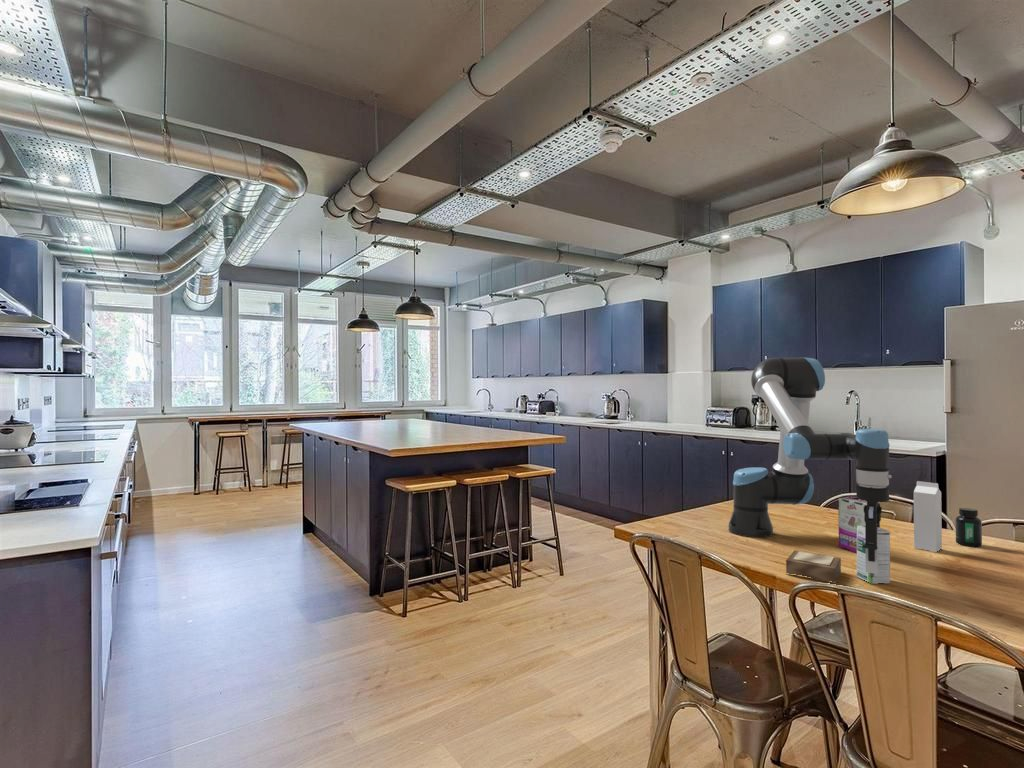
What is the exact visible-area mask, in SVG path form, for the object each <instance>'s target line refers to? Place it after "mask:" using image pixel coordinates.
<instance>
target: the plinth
mask: <svg viewBox="0 0 1024 768" xmlns="http://www.w3.org/2000/svg"><path fill="white" fill-rule="evenodd" d="M841 559H842V558H841V557H838V556H831V555H827V554H826V555H825V554H820V553H813V552H808V551H807V552H806V551H801V550H793V552H791V554H790V555H789V556H788V558H787V559H786V560H785V562H786V564H785V571H786V572H785V573H789V574H796V575H802V576H807V577H811V578H813V579H812V580H814V579H818V580H817V581H819V580H821V581H820V582H825V581H832V582H835V581H836V580H837V581H838V579H839V577H840V574H841V572H842V571H841V570H842V567H841V565H842V564H841V563H842V560H841ZM838 576H839V577H838ZM837 578H838V579H837ZM837 581H836V582H837Z"/></svg>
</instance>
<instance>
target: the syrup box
mask: <svg viewBox="0 0 1024 768" xmlns="http://www.w3.org/2000/svg"><path fill="white" fill-rule="evenodd" d="M871 544H873V543H871ZM863 545H865V525H861V526H857V553H856V578H857V577H858V578H857V579H860V580H862V581H864V580H865V582H866V581H867V583H868V582H869V583H868V584H870V583H871V585H879V584H878V583H884V584H890V583H891V575H890V574H891V531H890V530H889V529H885V528H882V527H880V528H879V527H877V547H878V574H874V573H868V572H866V548H863Z"/></svg>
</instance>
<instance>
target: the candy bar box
mask: <svg viewBox="0 0 1024 768" xmlns="http://www.w3.org/2000/svg"><path fill="white" fill-rule="evenodd" d="M865 505H867V501H865V500H860V499H856V498H851V497H843V498H842V497H841V498H838V548H840V549H843V550H847V551H849V552H853V553H856V554H857V526H861V525H865V521H864V517H865V513H864V506H865Z"/></svg>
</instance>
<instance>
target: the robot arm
mask: <svg viewBox="0 0 1024 768" xmlns="http://www.w3.org/2000/svg"><path fill="white" fill-rule="evenodd" d="M750 380H751V381H750V382H751V387H752V390H753V391H754V392H755V395H756V396H758V397H759V398H762V400H763V401H764V404H765V405H766V407H767V408H768V410H769V411H770V413H771V415H772V416H773V418H774V420H775V421H776V423H777V425H778V427H779V428H780V433H779V444H778V453H777V454H778V457H777V462H775V463H774V464H773V465H772V471H768V468H765V467H760V466H759V467H756V466H755V467H743V468H739V469H736V471H735V472H734V473H733V480H732V485H733V486H732V487H733V488H732V489H733V495H732V496H733V497H732V498H733V510H732V513H731V516H730V519H729V522H728V531H729V532H731V533H732V534H735V535H739V536H745V537H751V538H753V537H754V538H768V537H772V536H773V535H774V526H773V523H772V521H771V518H770V515H769V511H768V510H769V505H793V506H794V505H803V504H807V503H808V502H809V501H810V500H811V498H812V497H813V494H814V491H815V483H814V478H813V476H812V474H811V473H810V472H809V469H808V468H807V467H806V465H805V461H806V460H847V461H848V460H850V461H854V462H855V461H856V463H855V466H856V467H855V468H856V469H855V479H856V484H858V485H856V489H855V490H856V491H855V492H856V493H855V494H856V496H855V497H856V498H857V500H861V501H866V502H867V505H865V506H864V513H865V517H864V521H865V545H863V548H866V572H868V573H874V574H878V547H877V527H879V528H881V523H880V522H881V520H882V512H883V511H882V510H883V509H882V506H881V504H880V503H886V502H889V501H890V489H889V487H888V486H889V485H890V479H892V475H891V474H889V472H890V471H889V470H890V442H889V432H887V431H886V430H885V429H873V428H859V429H857V430H856V432H855V433H850V432H839V433H816V432H815V431H814V430H813V428H812V427H811V425H810V423H809V418H810V417H809V416H810V409H811V408H810V407H811V402H812V400H814V399H815V398H816V396H817V392H819V391H821V390H823V388H824V387H825V385H826V375H825V371H824V367H823V366H822V364H821V362H820V361H819V360H817V359H816V358H811V357H770V358H767V359H764V360H762V361H761V362H759V364H757V366H756V367H755V368H754V369H753V371H752V373H751V378H750ZM871 543H873V544H871Z"/></svg>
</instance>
